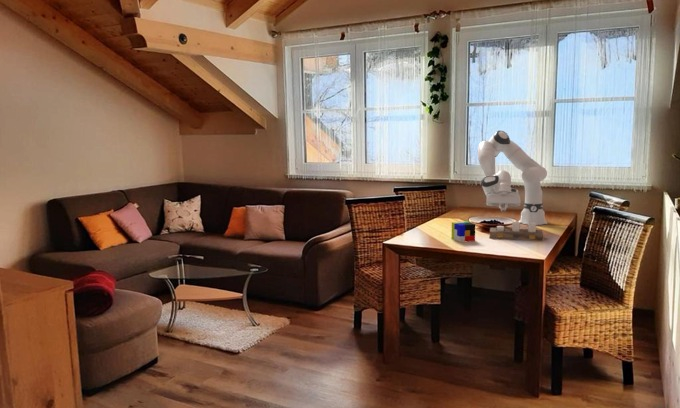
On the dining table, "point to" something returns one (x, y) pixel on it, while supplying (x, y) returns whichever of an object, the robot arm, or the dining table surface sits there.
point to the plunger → (531, 227)
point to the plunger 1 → (500, 228)
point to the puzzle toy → (463, 231)
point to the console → (516, 234)
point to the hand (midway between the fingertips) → (503, 210)
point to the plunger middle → (516, 226)
